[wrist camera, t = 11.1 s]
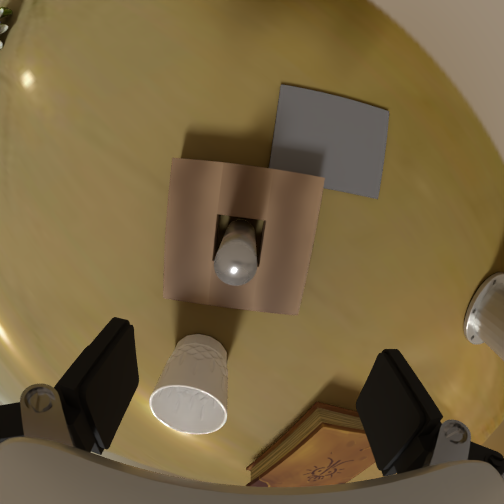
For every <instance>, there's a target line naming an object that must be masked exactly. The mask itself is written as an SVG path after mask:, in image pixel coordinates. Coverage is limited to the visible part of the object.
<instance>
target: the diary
mask: <svg viewBox="0 0 504 504" xmlns="http://www.w3.org/2000/svg"><path fill="white" fill-rule="evenodd" d="M373 463H375V459H374V456H373V453H372V450H371V447H370V445H369V442H368V439H367V436H366V433H365V431H364V428H363V425H362V422H361V420H360V417H359V414H358V412H357V411H353V410H349V409H344V408H340V407H336V406H332V405H328V404H324V403H321V402H316V403H315V404H314V405H313V406H312V407H311V408H310V409H309V410H308V411H307V412H306V414H305V415H304V416H303V417H302V418H301V419H300V420H299V421H298V422H297V423H296V424H295V425H294V426H293V427H292V428H291V429H290V430H288V431H287V432H286V433H285V434H284V435H283V436H282V437H281V438H280V439H279V440H278V441H277V442H276V443H275V444H274V445H272V446H271V447H270V448H269V449H268V450H267V451H266V452H265V453H263V454H262V455H261V456H260V457H259V458H258V459H256V460H255V461H254V462H253V463H252V464H251V465H249V466H248V467H247V468H246V470H250V471H251V482H250V483H248V484H247V485H246V486H251V487H310V486H324V485H335V484H344V483H346V482H348V481H349V480H351V479H352V478H354V477H355V476H357V475H358V474H360V473H361V472H362V471H364V470H365V469H366V468H368V467H369V466H371V465H372V464H373Z"/></svg>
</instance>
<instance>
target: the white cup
mask: <svg viewBox="0 0 504 504" xmlns="http://www.w3.org/2000/svg"><path fill="white" fill-rule="evenodd" d="M227 399H228V369H227V352H226V350H225V349H224V347H223V346H222V344H221V343H220V342H218V341H217V340H215V339H214V338H212V337H211V336H206V335H202V334H194V335H188V336H186V337H184V338H183V339H181V340H180V341H178V343H177V345H176V347H175V350H174V352H173V353H172V355H171V356H170V357H169V359H168V361H167V363H166V365H165V367H164V369H163V371H162V373H161V375H160V377H159V379H158V382H157V384H156V386H155V388H154V390H153V392H152V394H151V396H150V400H149V404H150V408H151V410H152V412H153V414H154V415H155V416H156V417H157V419H159V420H160V421H161V422H162V423H163V424H165V425H167V426H168V427H170V428H172V429H175V430H177V431H180V432H184V433H189V434H207V433H211V432H214V431H216V430H218V429H220V428H221V427H222V426H223V425H224V424H225V422H226V420H227Z"/></svg>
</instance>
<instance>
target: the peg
mask: <svg viewBox="0 0 504 504" xmlns="http://www.w3.org/2000/svg"><path fill="white" fill-rule="evenodd" d="M214 270H215V273H216V275H217V276H218V278H219V279H220V280H221V281H223V282H224V283H226V284H229V285H233V286H239V285H243V284H246V283H247V282H249V281H250V280H251V279H252V278H253V277H254V275H255V273H256V271H257V255H256V239H255V230H254V227H253V226H252V224H251V223H250V222H248V221H246V220H242V219H238V220H235V221H233V222H231V223H230V224H229V226H228V227H227V229H226V232H225V234H224V237H223V239H222V242H221V244H220V247H219V249H218V252H217V254H216V257H215V260H214Z"/></svg>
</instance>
